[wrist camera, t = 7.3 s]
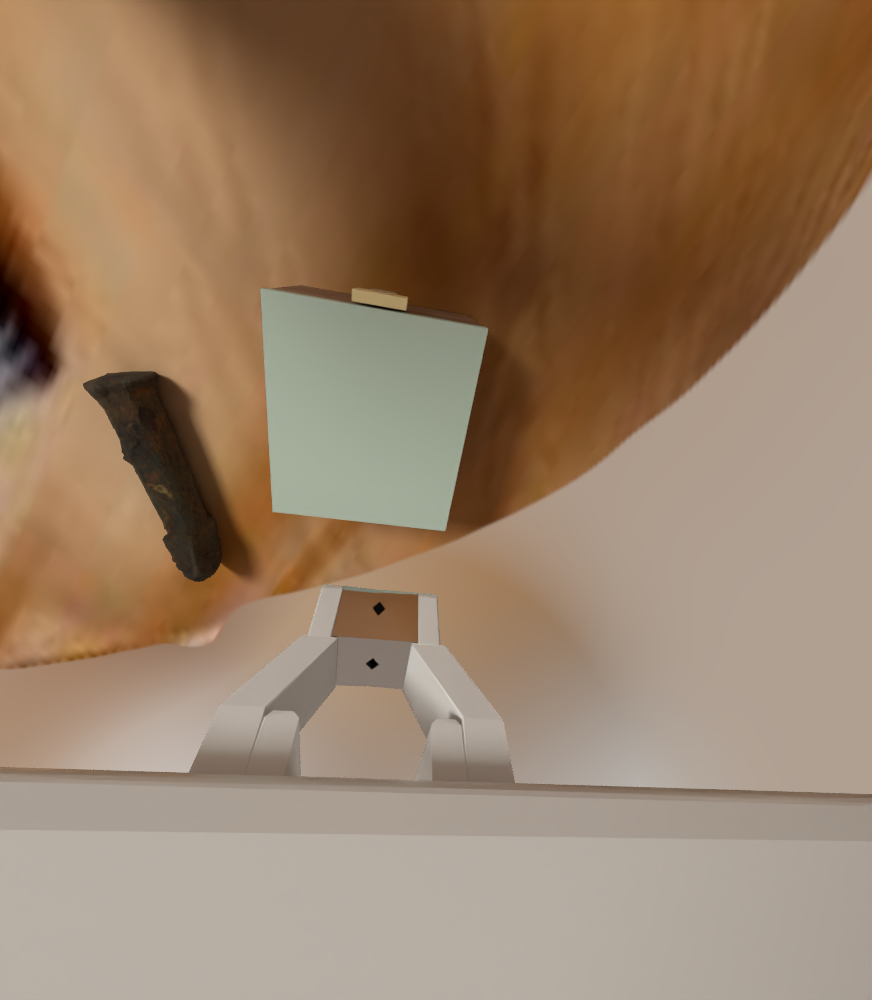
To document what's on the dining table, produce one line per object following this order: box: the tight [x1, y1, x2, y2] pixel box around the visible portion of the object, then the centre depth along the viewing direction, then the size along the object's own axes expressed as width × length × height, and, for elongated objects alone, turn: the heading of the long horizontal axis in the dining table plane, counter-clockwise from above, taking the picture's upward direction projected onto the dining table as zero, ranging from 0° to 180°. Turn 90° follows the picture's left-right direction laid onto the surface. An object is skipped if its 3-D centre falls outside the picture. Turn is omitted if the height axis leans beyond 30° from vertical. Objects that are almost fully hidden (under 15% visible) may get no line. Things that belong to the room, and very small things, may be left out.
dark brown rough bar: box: [83, 371, 221, 582], centre depth 32 cm, size 19×4×5 cm, turn 1°
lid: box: [260, 288, 488, 531], centre depth 25 cm, size 15×12×3 cm
